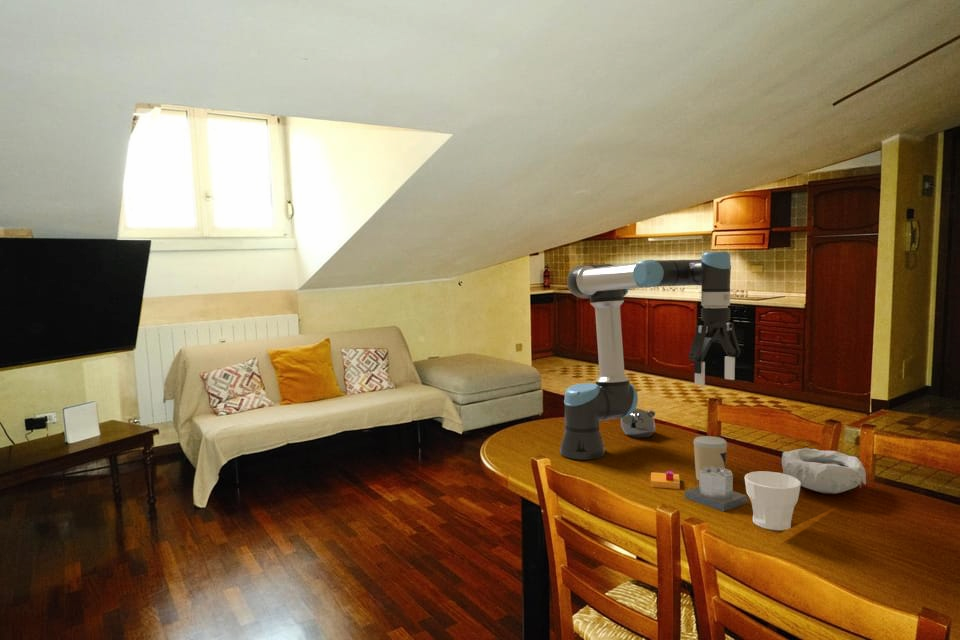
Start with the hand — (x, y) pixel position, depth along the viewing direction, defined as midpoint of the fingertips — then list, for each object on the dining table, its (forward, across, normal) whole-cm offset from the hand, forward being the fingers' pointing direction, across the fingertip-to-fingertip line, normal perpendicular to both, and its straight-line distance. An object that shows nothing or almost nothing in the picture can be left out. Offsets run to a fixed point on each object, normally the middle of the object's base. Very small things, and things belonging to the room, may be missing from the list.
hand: (714, 382), depth 169 cm
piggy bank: (+31, +21, +47) cm, 60 cm away
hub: (+29, -8, -6) cm, 30 cm away
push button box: (+31, -8, +11) cm, 34 cm away
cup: (+31, -10, -23) cm, 40 cm away
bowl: (+31, +22, -19) cm, 42 cm away
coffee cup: (+31, +5, +5) cm, 32 cm away
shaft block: (+31, -8, -6) cm, 32 cm away
